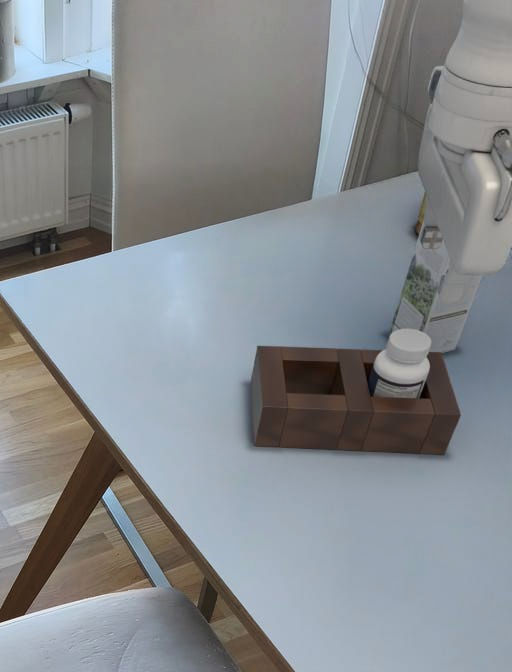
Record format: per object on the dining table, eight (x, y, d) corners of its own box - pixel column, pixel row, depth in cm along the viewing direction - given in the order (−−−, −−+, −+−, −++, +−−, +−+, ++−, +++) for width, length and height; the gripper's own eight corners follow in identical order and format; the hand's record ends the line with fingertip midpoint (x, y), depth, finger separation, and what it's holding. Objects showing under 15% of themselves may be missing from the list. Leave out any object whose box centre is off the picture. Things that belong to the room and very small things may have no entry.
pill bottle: (368, 399, 97) (394, 318, 89) (416, 415, 95) (447, 334, 87) (349, 424, 94) (374, 343, 87) (398, 442, 92) (428, 360, 85)
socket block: (426, 391, 97) (441, 351, 94) (444, 454, 91) (461, 414, 87) (249, 384, 99) (257, 345, 95) (254, 446, 92) (262, 406, 89)
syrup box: (456, 350, 102) (505, 226, 91) (411, 360, 101) (455, 236, 90) (429, 325, 106) (472, 202, 94) (385, 334, 105) (423, 212, 93)
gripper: (567, 163, 64) (498, 334, 75) (503, 61, 77) (452, 219, 87) (477, 164, 65) (421, 332, 75) (428, 62, 77) (387, 219, 88)
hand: (437, 271), depth 82 cm, fingers open, 8 cm apart
